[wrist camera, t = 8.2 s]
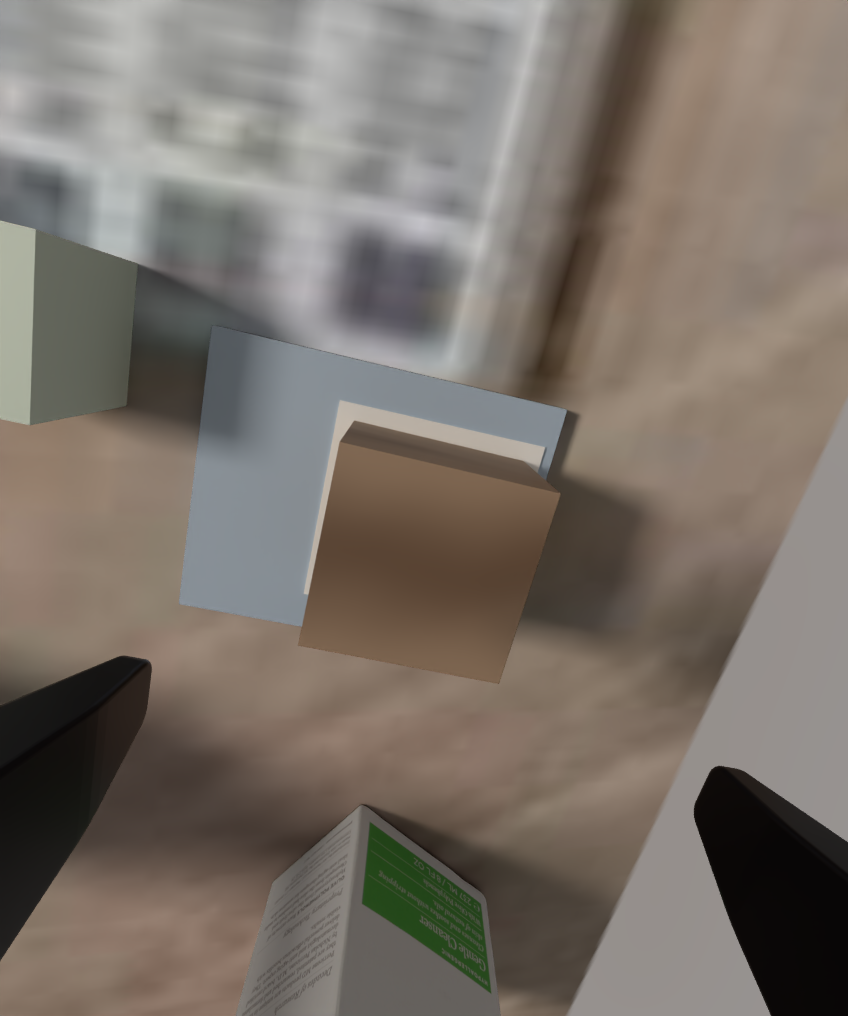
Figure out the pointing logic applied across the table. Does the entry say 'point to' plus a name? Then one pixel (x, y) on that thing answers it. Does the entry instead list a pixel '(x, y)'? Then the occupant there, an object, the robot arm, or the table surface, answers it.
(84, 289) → the sage block
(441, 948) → the skincare box
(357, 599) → the walnut block
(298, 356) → the board
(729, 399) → the table surface
